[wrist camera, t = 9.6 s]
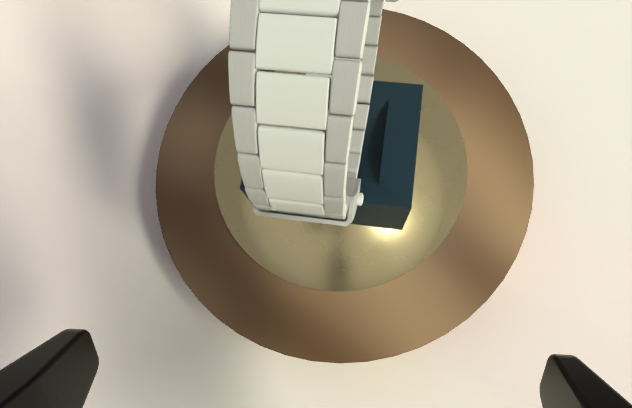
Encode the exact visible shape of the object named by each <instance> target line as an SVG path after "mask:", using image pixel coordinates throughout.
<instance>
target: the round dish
mask: <svg viewBox="0 0 632 408" xmlns="http://www.w3.org/2000/svg"><path fill="white" fill-rule="evenodd" d="M381 16H382V18H381V25H380V32H379V39H378V45H370V46H378V49H377V56H376V62H375V69H374V75H368V74H361V75H365V76H374V79H373V80H374V81H386V82H397V83H409V84H421V85H423V93H422V103H421V114H420V124H419V135H418V145H417V156H416V166H415V177H414V187H413V198H412V208H411V211H410V213H409V215H408V218H407V220H406V222H405V224H404V227H403V229H402V230H397V229H389V228H381V227H372V226H364V225H356V224H349V225H348V226H338V225H329V224H321V223H313V222H305V221H297V220H289V219H281V218H273V217H265V216H257V215H255V213H254V212H253V207H254V205H253V204H252V203H251V202H250V201H249V199H248V198H247V197H246V196H245V194H244V193H243V192H242V191H241V189H240V184H241V179H242V177H241V172H240V168H239V163H238V152H237V150H236V145H235V139H234V131H233V122H232V106H234V105H232V104H231V103H230V93H229V71H228V54H229V51H241V52H253V53H256V51H246V50H234V49H231V48H230V45H229V46H228V47H226V48H225V49H224V50H223V51H221V52H220V53H219V54H217V55H216V56H215V57H214V58H213V59H212V60H211V61H210V62H209V63H208V64H207V65H206V66H205V67H204V68H203V69H202V70H201V71H200V73H199V74H198V75H197V76H196V78H195V79H194V80H193V81H192V83H191V84H190V85H189V87H188V88H187V90H186V91H185V93H184V94H183V96H182V98H181V99H180V101H179V103H178V104H177V106H176V108H175V110H174V112H173V114H172V117H171V119H170V121H169V123H168V125H167V128H166V131H165V135H164V138H163V141H162V144H161V148H160V153H159V159H158V165H157V176H156V199H157V209H158V217H159V221H160V225H161V229H162V233H163V238H164V240H165V243H166V245H167V248H168V250H169V253H170V255H171V258H172V260H173V262H174V264H175V266H176V267H177V269H178V271H179V273H180V274H181V276H182V278H183V280H184V281H185V283H186V284H187V285H188V287H189V288H190V289H191V290H192V292H193V293H194V294H195V296H196V297H197V298H198V300H199V301H200V302H201V303H202V304H203V305H204V306H205V307H206V308H207V309H208V310H209V311H210V312H211V313H212V314H213V315H214V316H216V317H217V318H218V319H219V320H220V321H222V322H223V323H225V324H226V325H227V326H229V327H230V328H231V329H233V330H234V331H235V332H237V333H238V334H240V335H242V336H244V337H246V338H247V339H249V340H251V341H253V342H255V343H257V344H259V345H260V346H263V347H266V348H268V349H271V350H274V351H276V352H279V353H282V354H284V355H288V356H292V357H297V358H301V359H306V360H310V361H319V362H331V363H351V362H368V361H373V360H378V359H383V358H388V357H393V356H396V355H399V354H402V353H405V352H408V351H411V350H414V349H417V348H419V347H422V346H424V345H426V344H428V343H430V342H432V341H433V340H435V339H437V338H439V337H441V336H443V335H445V334H447V333H448V332H449V331H451V330H452V329H454V328H455V327H457V326H458V325H459V324H461V323H462V322H464V321H465V320H466V319H468V318H469V317H470V316H471V315H472V314H473V313H474V312H475V311H476V310H477V309H478V308H479V307H480V306H481V305H483V304H484V303H485V302H486V301H487V300H488V298H489V297H490V296H491V295H492V293H493V292H494V291H495V290H496V288H497V287H498V286H499V284H500V283H501V282H502V281H503V279H504V278H505V276H506V274H507V273H508V271H509V269H510V267H511V266H512V264H513V262H514V260H515V259H516V257H517V254H518V252H519V249H520V247H521V244H522V242H523V239H524V237H525V234H526V231H527V227H528V223H529V218H530V214H531V210H532V200H533V189H534V177H533V160H532V155H531V150H530V145H529V140H528V136H527V133H526V130H525V128H524V125H523V122H522V119H521V116H520V114H519V112H518V110H517V108H516V106H515V104H514V102H513V100H512V98H511V96H510V95H509V93H508V92H507V90H506V89H505V87H504V86H503V84H502V83H501V82H500V80H499V79H498V77H497V76H496V75H495V74H494V72H493V71H492V70H491V69H490V68H489V67H488V66H487V65H486V64H485V63H484V62H483V60H482V59H481V58H480V57H478V56H477V55H476V54H475V53H474V52H473V51H471V50H470V49H469V48H468V47H467V46H465V45H464V44H463V43H461V42H460V41H458V40H457V39H455V38H454V37H452V36H451V35H449V34H448V33H446V32H445V31H443V30H441V29H439V28H437V27H435V26H433V25H431V24H429V23H427V22H425V21H422V20H419V19H416V18H413V17H411V16H408V15H405V14H402V13H397V12H393V11H389V10H384V9H382V15H381ZM365 45H366V44H365ZM361 60H362V59H361ZM259 71H267V72H279V73H291V74H302V75H306V73H299V72H287V71H275V70H263V69H259ZM255 106H256V105H255Z"/></svg>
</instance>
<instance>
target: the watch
mask: <svg viewBox="0 0 632 408" xmlns="http://www.w3.org/2000/svg"><path fill="white" fill-rule="evenodd" d="M383 1H384V0H231V10H230V36H229V44H230V48H231V49H234V50H246V51H256V53H253V52H241V51H229V54H228V71H229V93H230V103H231V104H232V105H234V106H232V122H233V131H234V139H235V145H236V150H237V152H238V163H239V168H240V172H241V177H242V179H241V184H240V189H241V191H242V192H243V193H244V194H245V196H246V197H247V198H248V199H249V201H250V202H251V203H252V204H253V205H254V207H253V212H254V213H255V215H257V216H265V217H273V218H281V219H289V220H297V221H305V222H313V223H321V224H329V225H338V226H348V225H349V224H356V225H364V226H372V227H381V228H389V229H397V230H402V229H403V227H404V224H405V222H406V220H407V218H408V215H409V213H410V211H411V208H412V198H413V187H414V177H415V166H416V156H417V145H418V135H419V124H420V114H421V103H422V93H423V85H421V84H409V83H397V82H386V81H374V80H373V79H374V76H365V75H361V74H368V75H374V69H375V62H376V56H377V49H378V46H370V45H378V39H379V32H380V25H381V18H382V16H381V15H382V8H383ZM396 1H398V0H386V2H396ZM365 44H366V45H365ZM361 59H362V60H361ZM259 69H263V70H275V71H287V72H299V73H306V75H302V74H291V73H279V72H267V71H259ZM255 105H256V106H255Z"/></svg>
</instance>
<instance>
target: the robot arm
mask: <svg viewBox="0 0 632 408" xmlns="http://www.w3.org/2000/svg"><path fill="white" fill-rule="evenodd" d="M98 365H99V358H98V355H97V352H96V349H95V346H94V343H93V341H92V338H91V335H90V333H89V332H88V331H87V330H84V329H66V330H64V331H62V332H60V333H59V334H57V335H56V336H54V337H52V338H51V339H49V340H48V341H46V342H45V343H43V344H41V345H40V346H38V347H37V348H35V349H33V350H32V351H30V352H29V353H27V354H25V355H24V356H22V357H21V358H19V359H17V360H16V361H14V362H13V363H11V364H9V365H8V366H6V367H5V368H3V369H1V370H0V408H83V405H84V403H85V400H86V398H87V395H88V393H89V390H90V388H91V385H92V383H93V380H94V378H95V375H96V373H97V370H98ZM540 397H541V402H542V406H543V408H632V405H631V404H630V403H629V402H628V401H627V400H626V399H624V398H623V397H622V396H621V395H620V394H619V393H618V392H616V391H615V390H614V389H613V388H612V387H611V386H609V385H608V384H607V383H606V382H605V381H604V380H603V379H601V378H600V377H599V376H598V375H597V374H596V373H594V372H593V371H592V370H591V369H590V368H589V367H588V366H586V365H585V364H584V363H583V362H582V361H581V360H579V359H578V358H577V357H575V356H573V355H560V354H553V355H550V356H549V358H548V360H547V363H546V366H545V370H544V373H543V376H542V380H541V383H540Z"/></svg>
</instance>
